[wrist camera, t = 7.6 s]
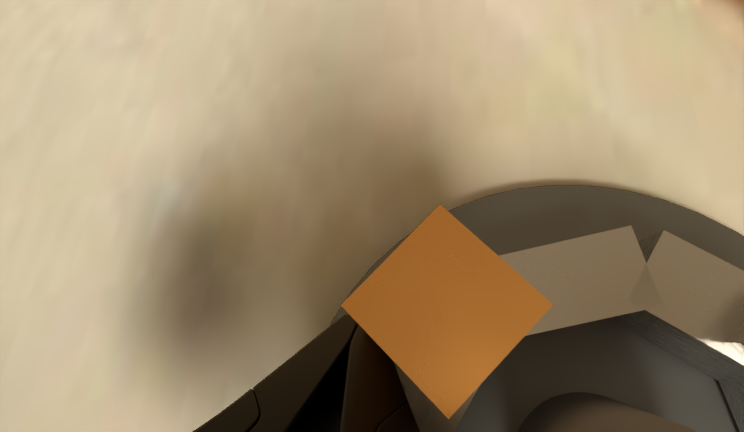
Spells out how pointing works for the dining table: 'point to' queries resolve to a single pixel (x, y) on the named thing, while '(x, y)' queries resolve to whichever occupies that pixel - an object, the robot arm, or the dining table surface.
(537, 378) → the grey stone circle model
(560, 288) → the grey stone ring wall
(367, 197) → the dining table surface
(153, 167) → the dining table surface
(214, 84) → the dining table surface
